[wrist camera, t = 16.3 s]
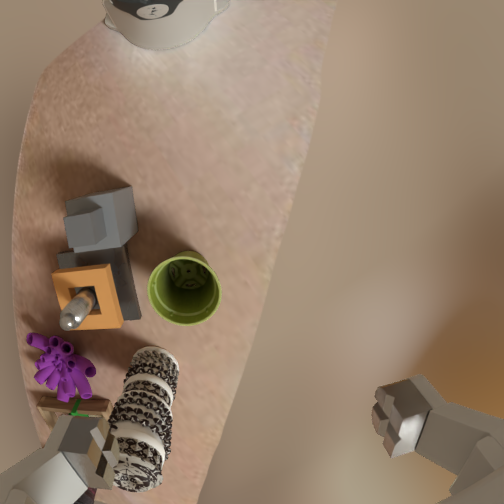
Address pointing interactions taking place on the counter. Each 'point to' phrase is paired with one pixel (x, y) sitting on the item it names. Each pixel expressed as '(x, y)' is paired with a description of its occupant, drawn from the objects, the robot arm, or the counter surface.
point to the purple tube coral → (62, 367)
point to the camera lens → (87, 497)
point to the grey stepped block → (100, 220)
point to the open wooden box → (89, 407)
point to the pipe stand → (87, 295)
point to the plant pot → (184, 289)
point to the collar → (105, 293)
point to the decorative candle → (144, 419)
